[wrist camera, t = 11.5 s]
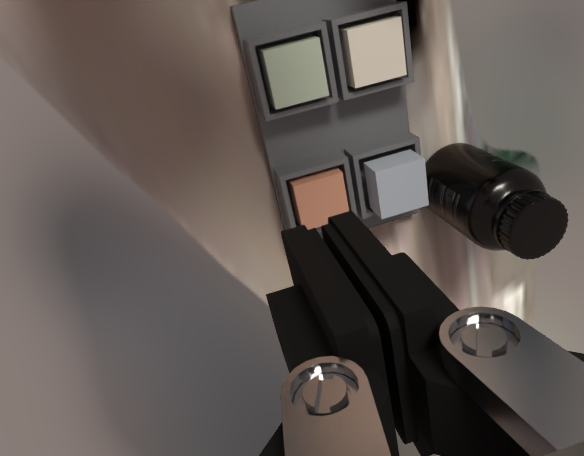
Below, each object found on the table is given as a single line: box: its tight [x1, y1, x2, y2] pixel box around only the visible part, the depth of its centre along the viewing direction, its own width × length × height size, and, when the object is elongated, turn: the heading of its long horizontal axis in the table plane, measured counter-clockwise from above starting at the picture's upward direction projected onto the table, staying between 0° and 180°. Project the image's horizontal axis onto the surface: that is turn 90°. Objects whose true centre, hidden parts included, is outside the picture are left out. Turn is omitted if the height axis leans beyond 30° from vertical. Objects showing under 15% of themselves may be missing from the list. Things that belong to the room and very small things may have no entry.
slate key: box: [364, 149, 429, 219], centre depth 39 cm, size 4×4×2 cm
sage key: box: [257, 35, 329, 110], centre depth 35 cm, size 4×4×2 cm
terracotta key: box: [287, 166, 349, 230], centre depth 40 cm, size 4×4×2 cm
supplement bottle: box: [425, 143, 568, 260], centre depth 40 cm, size 7×7×12 cm
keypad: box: [230, 0, 421, 239], centre depth 39 cm, size 20×12×3 cm, turn 12°
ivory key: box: [338, 16, 407, 88], centre depth 36 cm, size 4×4×2 cm
